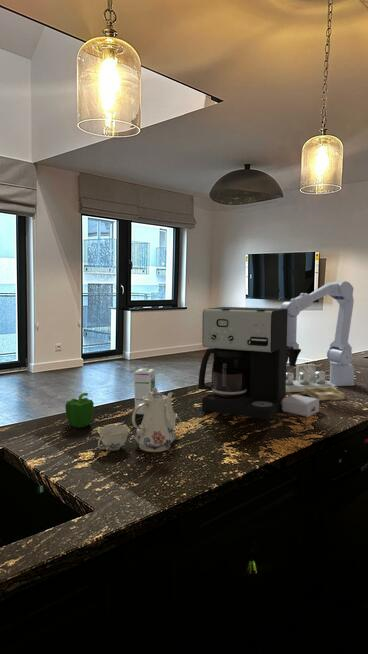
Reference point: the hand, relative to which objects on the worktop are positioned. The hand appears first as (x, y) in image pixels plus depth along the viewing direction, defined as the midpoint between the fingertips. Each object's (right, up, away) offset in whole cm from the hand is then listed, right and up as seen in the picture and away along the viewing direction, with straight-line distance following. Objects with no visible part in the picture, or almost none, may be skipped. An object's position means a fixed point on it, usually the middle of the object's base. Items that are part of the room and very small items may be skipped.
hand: (288, 364), depth 185 cm
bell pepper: (-74, -15, -47) cm, 89 cm away
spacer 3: (+14, -8, +3) cm, 16 cm away
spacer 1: (0, -8, +1) cm, 8 cm away
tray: (+11, -11, -11) cm, 19 cm away
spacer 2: (+7, -8, +2) cm, 11 cm away
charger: (-6, -14, -30) cm, 33 cm away
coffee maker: (-24, -13, -26) cm, 38 cm away
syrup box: (-56, -14, -32) cm, 66 cm away
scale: (+7, -10, +4) cm, 13 cm away
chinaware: (-53, -17, -62) cm, 83 cm away
